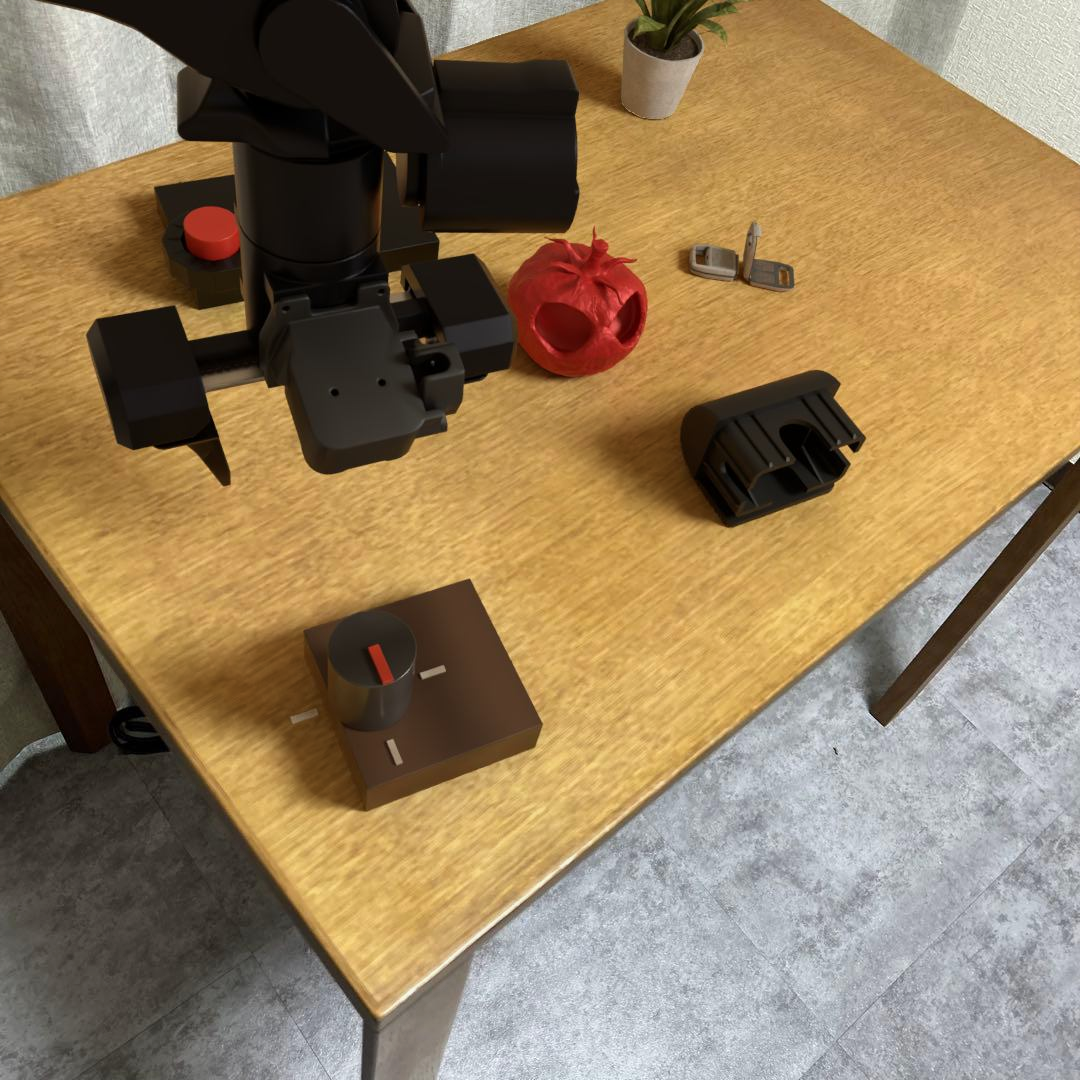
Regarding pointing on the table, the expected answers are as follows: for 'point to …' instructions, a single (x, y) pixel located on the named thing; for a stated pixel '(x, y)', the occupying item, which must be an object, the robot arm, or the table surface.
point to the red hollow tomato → (577, 307)
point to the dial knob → (371, 670)
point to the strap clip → (727, 264)
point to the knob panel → (435, 700)
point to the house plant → (665, 52)
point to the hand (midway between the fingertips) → (313, 458)
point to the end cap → (769, 446)
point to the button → (211, 233)
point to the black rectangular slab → (222, 277)
